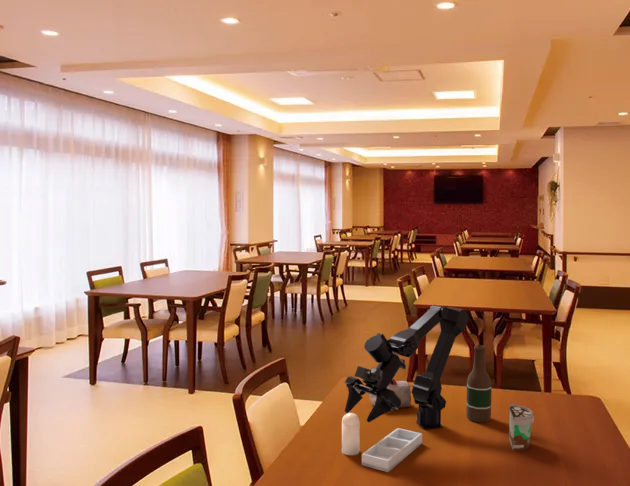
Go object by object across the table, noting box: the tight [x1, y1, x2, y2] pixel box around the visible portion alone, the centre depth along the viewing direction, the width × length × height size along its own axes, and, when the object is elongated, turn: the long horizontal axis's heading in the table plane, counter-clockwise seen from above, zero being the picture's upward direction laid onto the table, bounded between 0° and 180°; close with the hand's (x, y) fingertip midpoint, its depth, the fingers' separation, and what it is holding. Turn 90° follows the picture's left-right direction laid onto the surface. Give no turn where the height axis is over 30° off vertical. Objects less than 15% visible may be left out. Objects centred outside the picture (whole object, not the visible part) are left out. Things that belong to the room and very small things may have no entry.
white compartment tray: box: [361, 427, 423, 473], centre depth 162 cm, size 22×8×3 cm, turn 147°
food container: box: [508, 403, 535, 452], centre depth 168 cm, size 12×6×10 cm, turn 168°
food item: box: [368, 378, 412, 409], centre depth 201 cm, size 14×8×10 cm, turn 100°
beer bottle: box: [465, 344, 493, 423], centre depth 189 cm, size 8×8×24 cm
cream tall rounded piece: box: [341, 412, 361, 456], centre depth 163 cm, size 5×5×11 cm
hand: (356, 416), depth 164 cm, fingers open, 9 cm apart
